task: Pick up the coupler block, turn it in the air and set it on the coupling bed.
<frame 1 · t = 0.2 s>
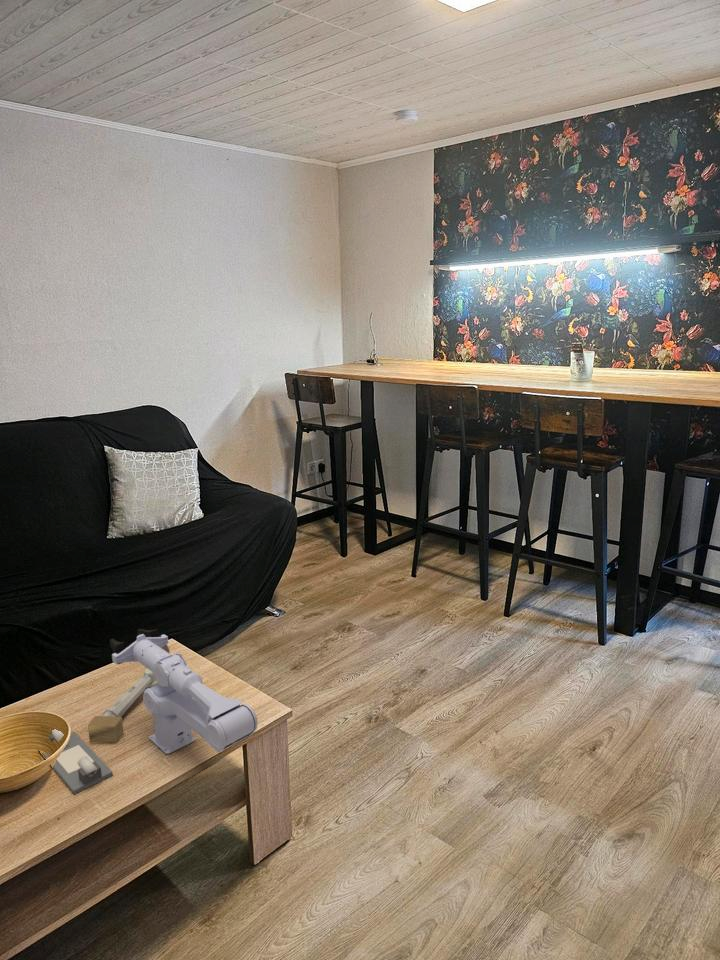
hand: (125, 637, 178), 21 cm above the table, tool horizontal, fingers open, 7 cm apart
vase: (158, 664, 206), on the table
coupler block: (106, 738, 170), on the table
grey long handheld tool: (133, 706, 185), on the table
coupling bed: (74, 762, 161), on the table
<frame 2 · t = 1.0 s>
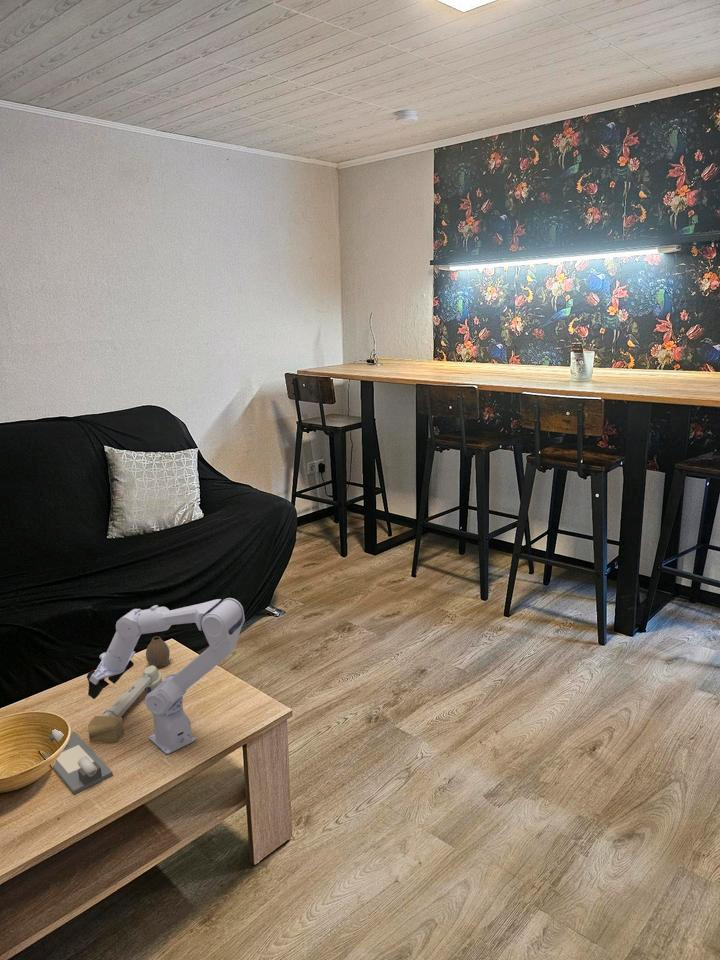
hand: (102, 688, 172), 11 cm above the table, tool tilted 30°, fingers open, 7 cm apart
nothing on the table moved.
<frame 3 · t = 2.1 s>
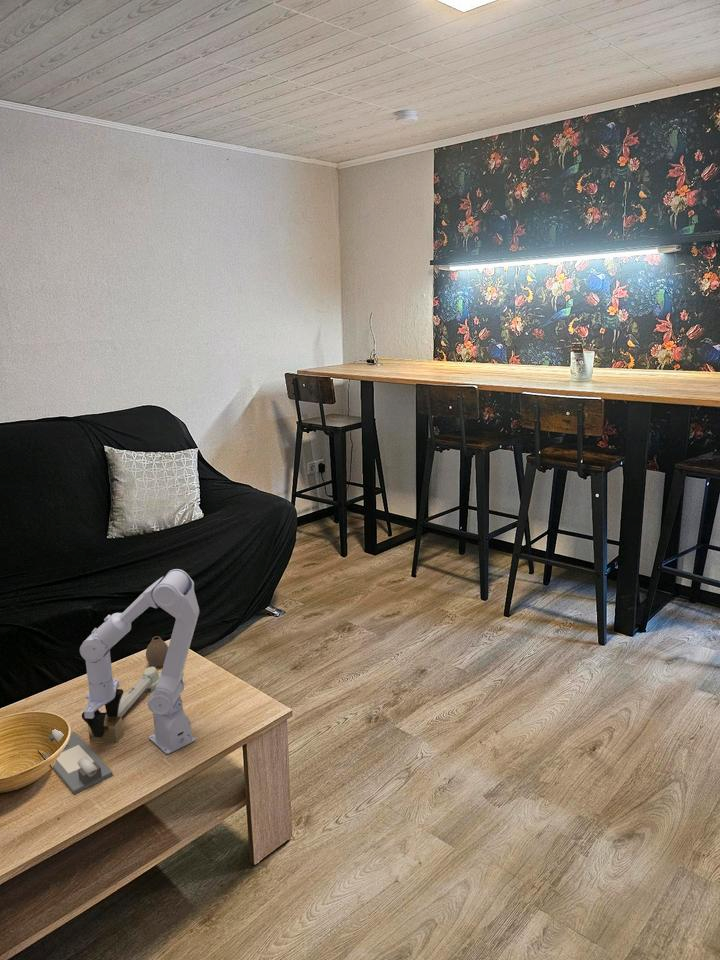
hand: (105, 727, 170), 3 cm above the table, tool pointing down, fingers open, 7 cm apart
grey long handheld tool: (132, 707, 185), on the table, touching gripper
everything else where it was.
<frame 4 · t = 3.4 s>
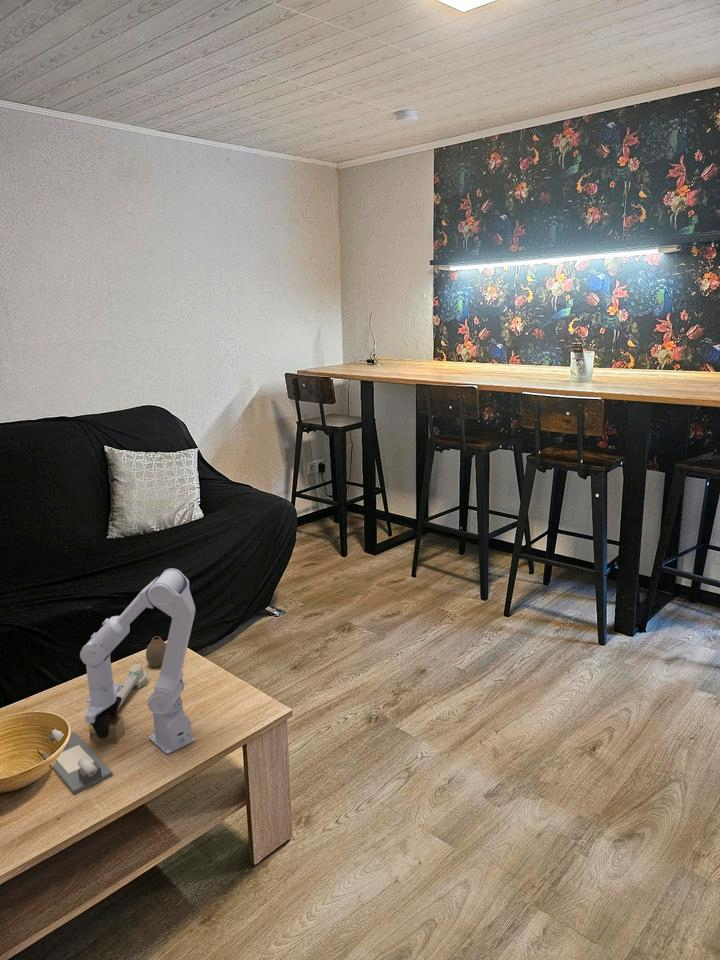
hand: (106, 731, 170), 2 cm above the table, tool pointing down, fingers closed on coupler block, 4 cm apart
coupler block: (107, 737, 171), on the table, touching gripper
grey long handheld tool: (122, 704, 185), on the table
everything else where it was.
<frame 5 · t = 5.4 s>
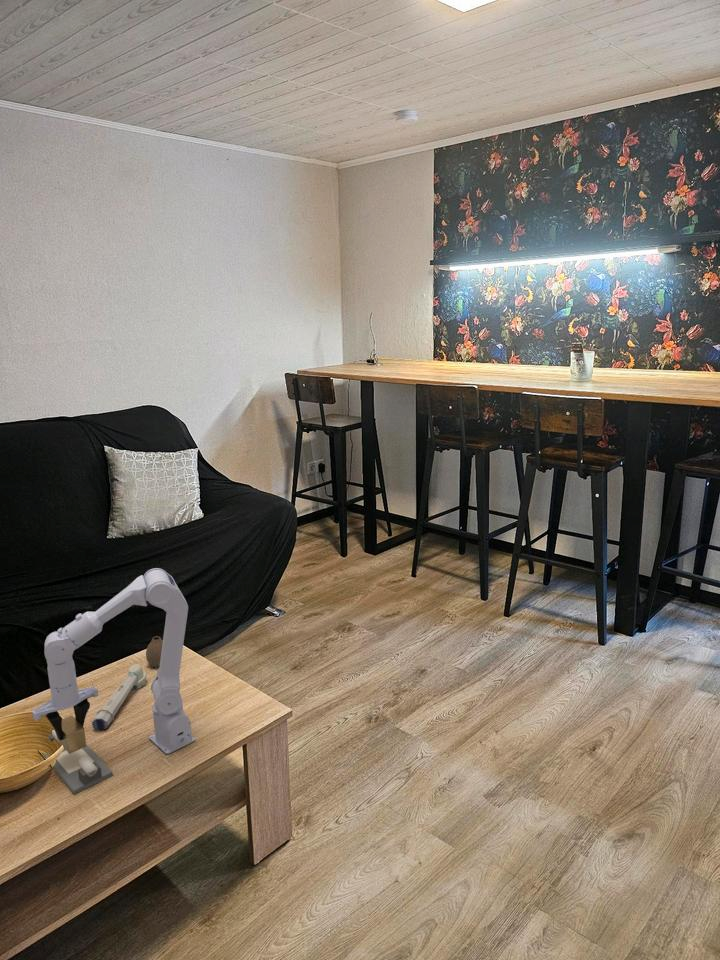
hand: (70, 733, 159), 8 cm above the table, tool pointing down, fingers closed on coupler block, 4 cm apart
coupler block: (71, 743, 160), point 5 cm above the table, touching gripper
everything else where it was.
when the fingers open (4 cm above the table, at t = 7.1 s): coupler block stays where it is, resting on coupling bed.
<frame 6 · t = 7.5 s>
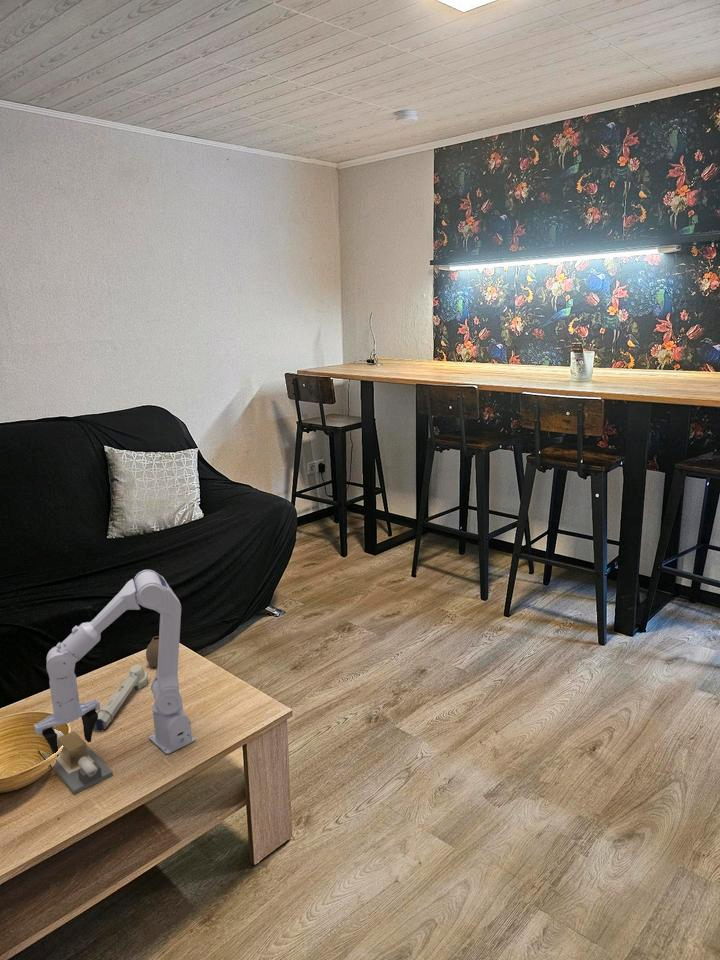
hand: (72, 747, 160), 4 cm above the table, tool pointing down, fingers open, 7 cm apart
coupler block: (74, 759, 161), point 1 cm above the table, touching coupling bed
everything else where it was.
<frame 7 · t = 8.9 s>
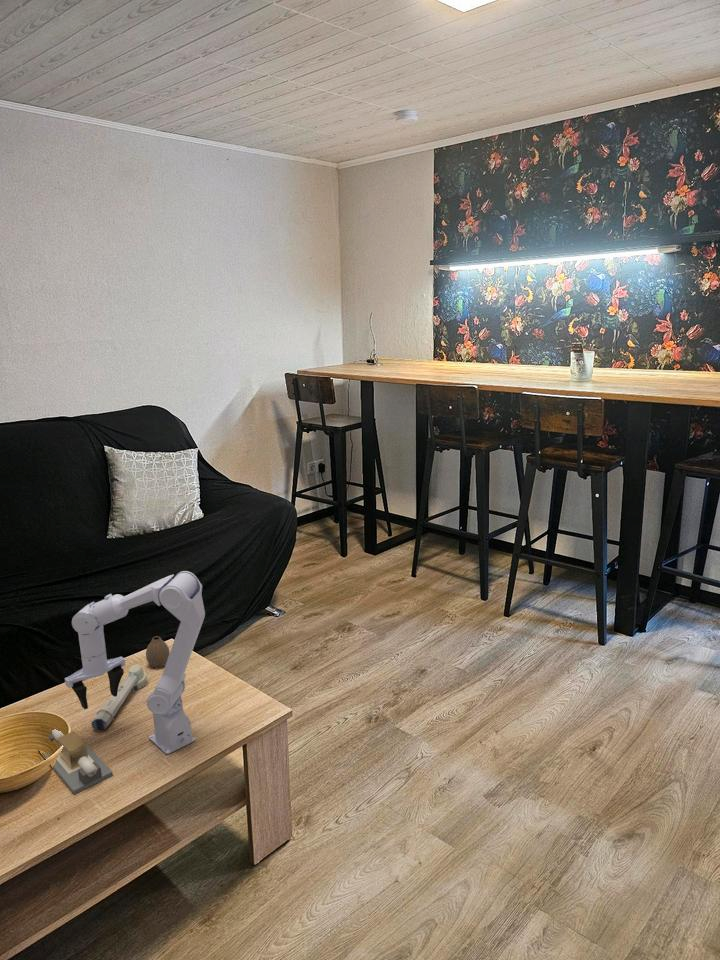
hand: (99, 701, 170), 9 cm above the table, tool pointing down, fingers open, 7 cm apart
nothing on the table moved.
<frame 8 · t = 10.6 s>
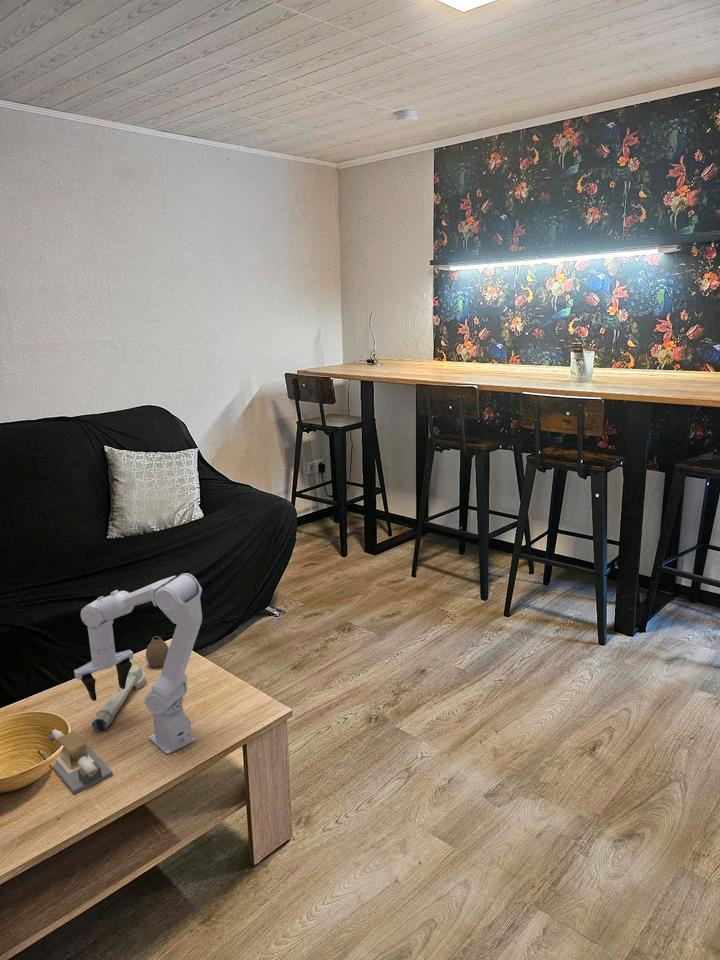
hand: (108, 693, 173), 9 cm above the table, tool pointing down, fingers open, 7 cm apart
nothing on the table moved.
at the end: coupler block 0.2 cm off-centre on the coupling bed, point 1.1 cm above the coupling bed's base; coupler block tilted 0°; the gripper is holding nothing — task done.
